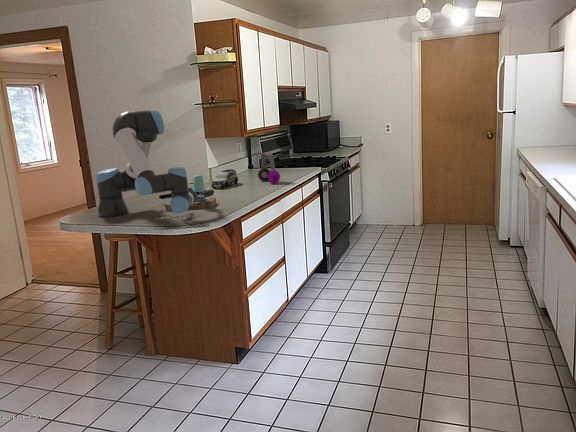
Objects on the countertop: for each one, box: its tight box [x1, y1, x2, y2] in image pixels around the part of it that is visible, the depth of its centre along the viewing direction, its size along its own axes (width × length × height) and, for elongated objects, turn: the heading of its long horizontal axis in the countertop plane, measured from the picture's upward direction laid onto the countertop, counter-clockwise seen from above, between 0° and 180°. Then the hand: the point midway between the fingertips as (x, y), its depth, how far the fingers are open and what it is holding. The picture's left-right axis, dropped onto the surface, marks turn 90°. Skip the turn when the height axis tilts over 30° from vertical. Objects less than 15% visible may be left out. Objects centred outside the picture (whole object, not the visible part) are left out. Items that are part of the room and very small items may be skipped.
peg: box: [192, 174, 206, 202], centre depth 259 cm, size 5×5×16 cm
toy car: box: [211, 168, 239, 189], centre depth 330 cm, size 13×24×10 cm, turn 169°
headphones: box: [257, 151, 281, 185], centre depth 331 cm, size 21×9×20 cm, turn 25°
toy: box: [158, 187, 215, 200], centre depth 288 cm, size 31×8×30 cm
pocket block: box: [164, 197, 217, 212], centre depth 261 cm, size 24×12×4 cm, turn 88°
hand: (195, 191), depth 250 cm, fingers open, 13 cm apart
